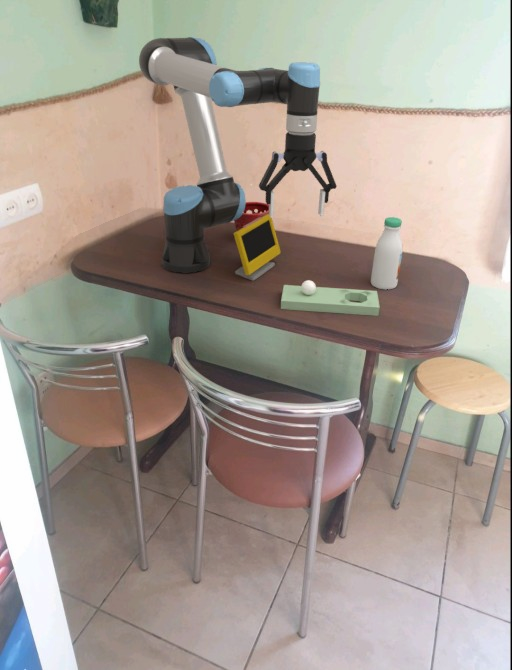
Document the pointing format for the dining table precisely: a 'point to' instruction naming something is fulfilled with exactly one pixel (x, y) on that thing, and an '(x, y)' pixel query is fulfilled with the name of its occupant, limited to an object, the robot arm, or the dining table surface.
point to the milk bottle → (387, 256)
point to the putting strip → (331, 300)
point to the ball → (308, 287)
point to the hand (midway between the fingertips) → (296, 215)
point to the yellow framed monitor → (257, 247)
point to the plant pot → (249, 218)
